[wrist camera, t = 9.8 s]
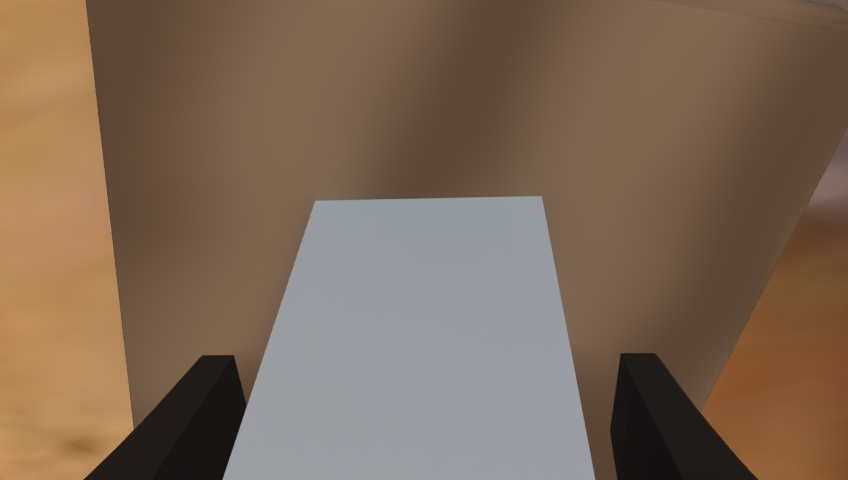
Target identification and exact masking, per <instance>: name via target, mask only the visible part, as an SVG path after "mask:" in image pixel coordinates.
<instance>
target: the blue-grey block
mask: <svg viewBox="0 0 848 480" xmlns="http://www.w3.org/2000/svg"><path fill="white" fill-rule="evenodd" d="M223 480H595V475H594V470H593V465H592V459H591V454H590V449H589V443H588V438H587V433H586V428H585V422H584V417H583V412H582V406H581V401H580V396H579V390H578V385H577V380H576V375H575V369H574V364H573V359H572V353H571V348H570V343H569V338H568V332H567V327H566V322H565V316H564V311H563V306H562V300H561V295H560V290H559V285H558V279H557V274H556V269H555V263H554V258H553V253H552V248H551V242H550V237H549V232H548V226H547V221H546V216H545V210H544V205H543V200H542V196H522V197H473V198H424V199H376V200H327V201H315V203H314V206H313V209H312V212H311V215H310V218H309V221H308V224H307V227H306V230H305V233H304V236H303V239H302V242H301V245H300V248H299V251H298V254H297V257H296V260H295V263H294V266H293V269H292V272H291V275H290V278H289V281H288V284H287V287H286V290H285V293H284V296H283V299H282V302H281V305H280V308H279V311H278V314H277V317H276V320H275V323H274V326H273V329H272V332H271V335H270V338H269V341H268V344H267V347H266V351H265V354H264V357H263V360H262V363H261V366H260V369H259V372H258V375H257V378H256V381H255V384H254V387H253V390H252V393H251V396H250V399H249V402H248V405H247V408H246V411H245V414H244V417H243V420H242V423H241V426H240V429H239V432H238V435H237V438H236V441H235V444H234V447H233V450H232V453H231V456H230V459H229V462H228V465H227V468H226V471H225V474H224V477H223Z"/></svg>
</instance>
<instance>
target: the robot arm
mask: <svg viewBox="0 0 848 480" xmlns="http://www.w3.org/2000/svg"><path fill="white" fill-rule="evenodd" d="M246 408H247V405H246V401H245V397H244V393H243V389H242V385H241V381H240V377H239V373H238V369H237V365H236V361H235V357H234V355H202V356H201V357H200V358H199V359H198V360H197V361H196V362H195V363H194V365H193V366H192V367H191V368H190V369H189V370H188V371H187V372H186V373H185V374H184V376H183V377H182V378H181V379H180V380H179V381H178V382H177V383H176V385H175V386H174V387H173V388H172V389H171V390H170V391H169V392H168V393H167V395H166V396H165V397H164V398H163V399H162V400H161V401H160V402H159V403H158V404H157V406H156V407H155V408H154V409H153V410H152V411H151V412H150V413H149V414H148V415H147V416H146V417H145V418H144V420H143V421H142V422H141V423H140V424H139V425H138V426H137V427H136V428H135V429H134V430H133V431H132V432H131V433H130V434H129V435H128V436H127V438H126V439H125V440H124V441H123V442H122V443H121V444H120V445H119V446H118V447H117V448H116V449H115V450H114V451H113V452H112V453H111V454H110V455H109V456H108V457H106V458H105V459H104V460H103V461H102V462H101V463H100V464H99V465H98V466H97V467H96V468H95V469H94V470H93V471H92V472H91V473H90V474H89V475H88V476H87V477H86V478H85V479H84V480H223V477H224V474H225V471H226V468H227V465H228V462H229V459H230V456H231V453H232V450H233V447H234V444H235V441H236V438H237V435H238V432H239V429H240V426H241V423H242V420H243V417H244V414H245V411H246ZM610 435H611V442H612V449H613V456H614V462H615V468H616V475H617V480H758V479H757V478H756V477H755V476H754V475H753V474H752V473H751V471H750V470H749V469H748V468H747V467H746V466H745V465H744V464H743V463H742V462H741V460H740V459H739V458H738V457H737V456H736V455H735V454H734V453H733V451H732V450H731V449H730V448H729V447H728V446H727V444H726V443H725V442H724V441H723V440H722V438H721V437H720V436H719V435H718V434H717V432H716V431H715V430H714V429H713V428H712V426H711V425H710V424H709V423H708V422H707V420H706V419H705V418H704V417H703V415H702V414H701V413H700V412H699V410H698V409H697V408H696V406H695V405H694V404H693V402H692V401H691V400H690V399H689V397H688V396H687V395H686V393H685V392H684V391H683V389H682V388H681V387H680V385H679V384H678V383H677V381H676V380H675V378H674V377H673V376H672V374H671V373H670V372H669V370H668V369H667V367H666V366H665V365H664V363H663V362H662V360H661V359H660V358H659V357H658V356H657V355H656V354H655V353H621V355H620V362H619V369H618V376H617V383H616V391H615V398H614V405H613V412H612V419H611V426H610Z"/></svg>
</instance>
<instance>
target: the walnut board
mask: <svg viewBox="0 0 848 480" xmlns="http://www.w3.org/2000/svg"><path fill="white" fill-rule="evenodd" d="M86 8H87V17H88V26H89V35H90V43H91V52H92V61H93V70H94V79H95V88H96V97H97V106H98V115H99V124H100V132H101V141H102V150H103V159H104V168H105V177H106V186H107V195H108V204H109V213H110V221H111V230H112V239H113V248H114V257H115V266H116V275H117V284H118V293H119V302H120V311H121V319H122V328H123V337H124V346H125V355H126V364H127V373H128V382H129V391H130V400H131V408H132V417H133V426H134V429H135V428H136V427H137V426H138V425H139V424H140V423H141V422H142V421H143V420H144V418H145V417H146V416H147V415H148V414H149V413H150V412H151V411H152V410H153V409H154V408H155V407H156V406H157V404H158V403H159V402H160V401H161V400H162V399H163V398H164V397H165V396H166V395H167V393H168V392H169V391H170V390H171V389H172V388H173V387H174V386H175V385H176V383H177V382H178V381H179V380H180V379H181V378H182V377H183V376H184V374H185V373H186V372H187V371H188V370H189V369H190V368H191V367H192V366H193V365H194V363H195V362H196V361H197V360H198V359H199V358H200V357H201V356H202V355H234V357H235V361H236V365H237V369H238V373H239V377H240V381H241V385H242V389H243V393H244V397H245V401H246V405H248V402H249V399H250V396H251V393H252V390H253V387H254V384H255V381H256V378H257V375H258V372H259V369H260V366H261V363H262V360H263V357H264V354H265V351H266V347H267V344H268V341H269V338H270V335H271V332H272V329H273V326H274V323H275V320H276V317H277V314H278V311H279V308H280V305H281V302H282V299H283V296H284V293H285V290H286V287H287V284H288V281H289V278H290V275H291V272H292V269H293V266H294V263H295V260H296V257H297V254H298V251H299V248H300V245H301V242H302V239H303V236H304V233H305V230H306V227H307V224H308V221H309V218H310V215H311V212H312V209H313V206H314V203H315V201H327V200H376V199H424V198H473V197H522V196H542V200H543V205H544V210H545V216H546V221H547V226H548V232H549V237H550V242H551V248H552V253H553V258H554V263H555V269H556V274H557V279H558V285H559V290H560V295H561V300H562V306H563V311H564V316H565V322H566V327H567V332H568V338H569V343H570V348H571V353H572V359H573V364H574V369H575V375H576V380H577V385H578V390H579V396H580V401H581V406H582V412H583V417H584V422H585V428H586V433H587V438H588V443H589V449H590V454H591V459H592V465H593V470H594V475H595V480H617V475H616V468H615V462H614V456H613V449H612V442H611V435H610V426H611V419H612V412H613V405H614V398H615V391H616V383H617V376H618V369H619V362H620V355H621V353H655V354H656V355H657V356H658V357H659V358H660V359H661V360H662V362H663V363H664V365H665V366H666V367H667V369H668V370H669V372H670V373H671V374H672V376H673V377H674V378H675V380H676V381H677V383H678V384H679V385H680V387H681V388H682V389H683V391H684V392H685V393H686V395H687V396H688V397H689V399H690V400H691V401H692V402H693V404H694V405H695V406H696V408H697V409H698V410H699V412H701V410H702V408H703V406H704V404H705V403H706V401H707V399H708V397H709V395H710V393H711V391H712V389H713V387H714V385H715V383H716V381H717V379H718V377H719V375H720V373H721V371H722V370H723V368H724V366H725V364H726V362H727V360H728V358H729V356H730V354H731V352H732V350H733V348H734V346H735V344H736V342H737V340H738V338H739V337H740V335H741V333H742V331H743V329H744V327H745V325H746V323H747V321H748V319H749V317H750V315H751V313H752V311H753V309H754V307H755V305H756V304H757V302H758V300H759V298H760V296H761V294H762V292H763V290H764V288H765V286H766V284H767V282H768V280H769V278H770V276H771V274H772V272H773V271H774V269H775V267H776V265H777V263H778V261H779V259H780V257H781V255H782V253H783V251H784V249H785V247H786V245H787V243H788V241H789V239H790V238H791V236H792V234H793V232H794V230H795V228H796V226H797V224H798V222H799V220H800V218H801V216H802V214H803V212H804V210H805V208H806V206H807V205H808V203H809V201H810V199H811V197H812V195H813V193H814V191H815V189H816V187H817V185H818V183H819V181H820V179H821V177H822V175H823V173H824V172H825V170H826V168H827V166H828V164H829V162H830V160H831V158H832V156H833V154H834V152H835V150H836V148H837V146H838V144H839V142H840V140H841V139H842V137H843V135H844V133H845V131H846V129H847V127H848V11H846V10H844V9H843V8H841V7H835V6H829V5H823V4H817V3H811V2H805V1H799V0H86Z"/></svg>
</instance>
